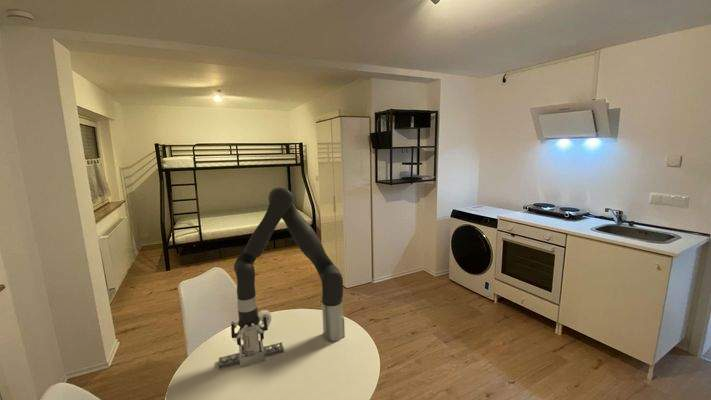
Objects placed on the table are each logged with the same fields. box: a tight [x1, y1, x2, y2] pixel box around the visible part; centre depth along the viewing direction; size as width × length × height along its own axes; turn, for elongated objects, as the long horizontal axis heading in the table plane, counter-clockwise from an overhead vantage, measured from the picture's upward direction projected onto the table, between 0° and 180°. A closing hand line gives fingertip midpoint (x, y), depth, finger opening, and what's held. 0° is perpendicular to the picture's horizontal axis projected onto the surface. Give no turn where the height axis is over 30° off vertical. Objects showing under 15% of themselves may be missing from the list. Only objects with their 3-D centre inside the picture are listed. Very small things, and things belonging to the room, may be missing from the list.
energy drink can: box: [242, 326, 261, 357], centre depth 128 cm, size 6×6×15 cm
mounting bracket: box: [218, 339, 285, 370], centre depth 129 cm, size 26×10×4 cm, turn 112°
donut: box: [258, 309, 272, 328], centre depth 147 cm, size 10×4×10 cm, turn 144°
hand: (250, 342), depth 128 cm, fingers open, 8 cm apart
